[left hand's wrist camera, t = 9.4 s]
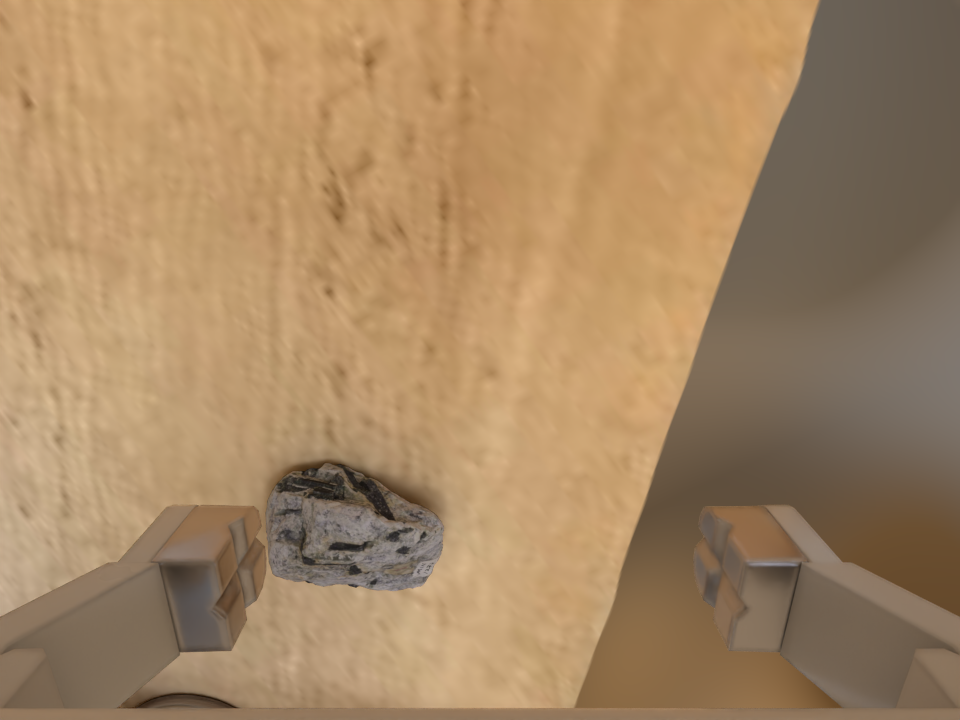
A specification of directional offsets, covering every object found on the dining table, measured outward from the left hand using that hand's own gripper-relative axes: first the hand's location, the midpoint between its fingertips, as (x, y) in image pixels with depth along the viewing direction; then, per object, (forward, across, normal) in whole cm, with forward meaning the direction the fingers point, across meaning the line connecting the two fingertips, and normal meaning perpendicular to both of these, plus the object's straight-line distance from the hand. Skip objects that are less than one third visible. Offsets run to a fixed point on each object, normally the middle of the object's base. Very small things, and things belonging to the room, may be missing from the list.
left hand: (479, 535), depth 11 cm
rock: (+33, +10, +23) cm, 42 cm away
